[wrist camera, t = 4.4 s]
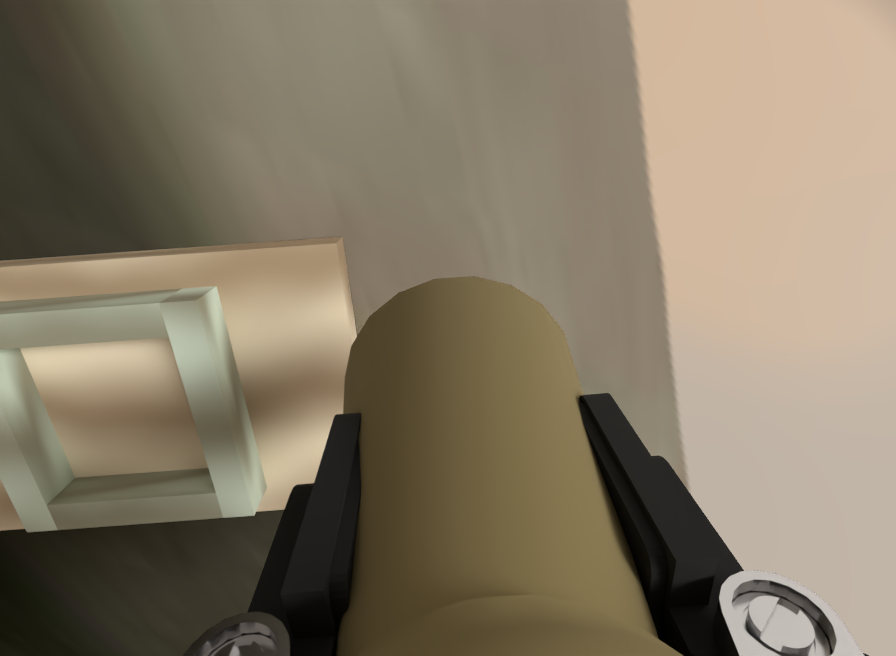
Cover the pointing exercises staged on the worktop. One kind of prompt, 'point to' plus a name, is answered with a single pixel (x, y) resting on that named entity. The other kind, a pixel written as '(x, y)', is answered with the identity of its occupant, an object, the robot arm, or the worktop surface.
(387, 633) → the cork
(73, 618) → the worktop surface
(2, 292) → the socket board
